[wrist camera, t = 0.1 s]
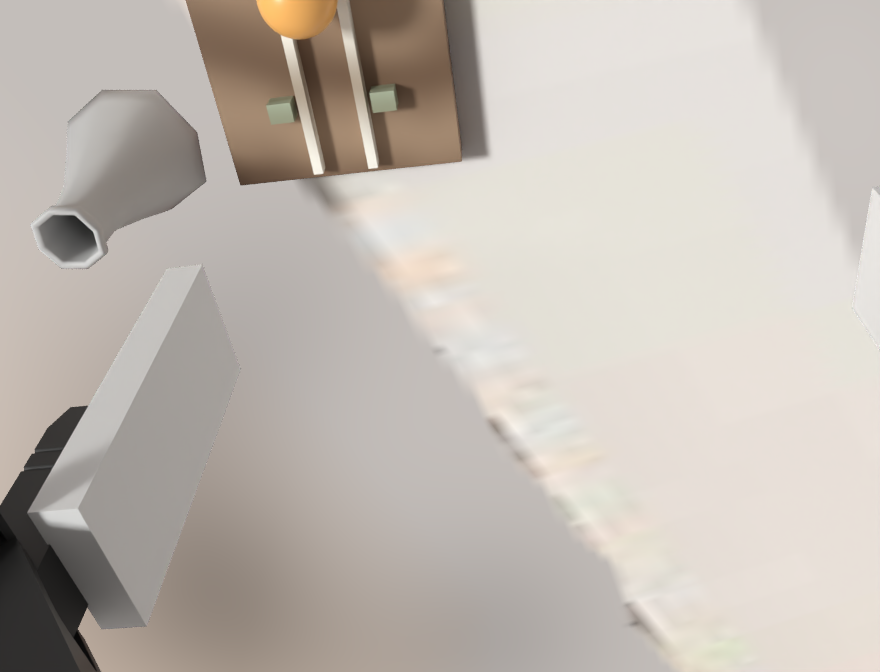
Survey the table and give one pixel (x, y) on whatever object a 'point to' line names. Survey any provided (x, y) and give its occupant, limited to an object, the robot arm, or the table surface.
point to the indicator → (298, 16)
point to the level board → (331, 89)
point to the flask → (118, 173)
